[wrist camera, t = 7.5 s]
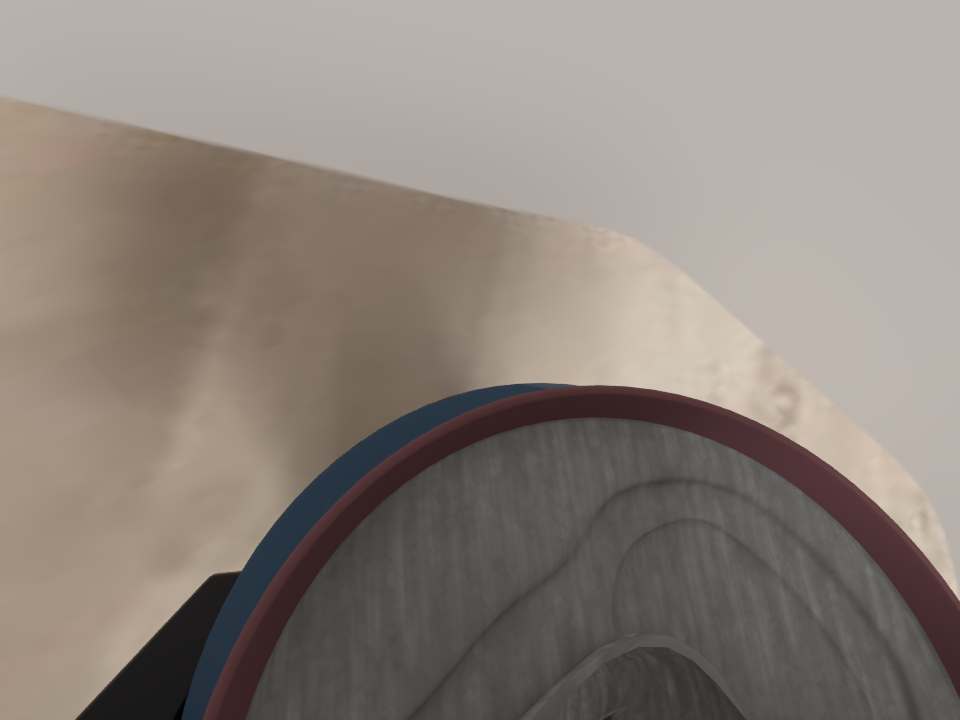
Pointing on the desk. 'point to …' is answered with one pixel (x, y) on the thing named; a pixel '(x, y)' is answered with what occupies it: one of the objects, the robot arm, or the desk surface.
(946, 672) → the soda can
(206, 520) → the desk surface
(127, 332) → the desk surface
